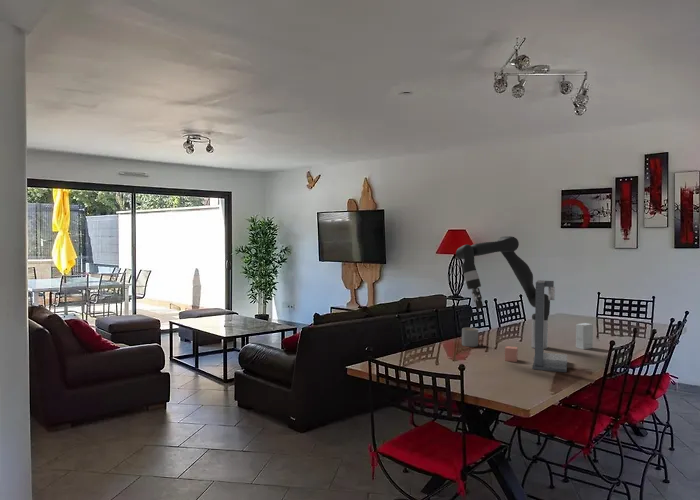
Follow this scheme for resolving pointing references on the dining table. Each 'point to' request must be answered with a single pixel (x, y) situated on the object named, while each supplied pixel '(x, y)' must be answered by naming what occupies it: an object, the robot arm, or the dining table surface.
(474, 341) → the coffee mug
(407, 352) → the dining table surface
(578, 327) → the skincare box
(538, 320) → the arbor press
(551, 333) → the dining table surface
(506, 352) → the pink block
